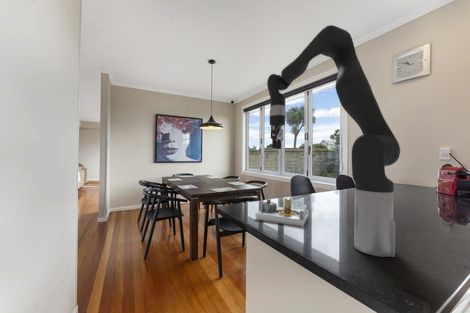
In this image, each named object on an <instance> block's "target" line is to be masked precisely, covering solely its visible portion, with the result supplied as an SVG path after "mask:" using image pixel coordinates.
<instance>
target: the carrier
mask: <svg viewBox="0 0 470 313" xmlns="http://www.w3.org/2000/svg"><path fill="white" fill-rule="evenodd" d="M271 200H272V199H271V198H267V199H266V201H263V202H260V210H259V211H257V212H256V213H255V220H256V221H257V220H258V221H264V222H270V223H276V224H277V223H278V224H282V225H290V226H295V227H296V226H297V227H302V228H303V227H304V226H305V224H306V223H307V220H308V218H309V210H308V205H307V204H303V206H301V208H300V209H298V208H291V212H295V213H296V214H297V215H296V216H286V215H280V214H278V212H281V211H284V206H283V207H282V206H278V204H277V203H276V202H272V201H271Z"/></svg>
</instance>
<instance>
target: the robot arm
mask: <svg viewBox="0 0 470 313" xmlns="http://www.w3.org/2000/svg"><path fill="white" fill-rule="evenodd" d="M320 55H322V56H326V57H328V58H330V59H332V60H333V62H334V64H335V66H336V70H337V77H336V79H335V80H336V81H335V92H336V95H337V97H338V98H337V99H338V100H339V103H340V105H341V107H342V108H343V110H344V111H345V112H346V113H347V115H348V116H349V117H351V119H352V120H353V121H354V123H356V125H357V126H358V127H359V129H360V130H361V133H362V134H361V135H360V136H358V137H357V138H356V139H355V140H354V142H353V144H352V146H351V174H352V176H351V177H352V179H353V182H354V229H353V230H354V232H353V233H354V234H353V244H354V245H353V246H354V248H355V249H356V250H357V251H360V252H362V253H363V254H367V255H371V256H374V257H382V258H383V257H384V258H385V257H392V258H395V257H396V256H395V255H396V253H395V252H396V221H395V220H394V190H395V184H394V182H393V180H391V179H390V178H388V177H387V175H386V170H385V168H386V167H389V166H392V165H393V164H395V163H396V162H397V161H398V160H399V158H400V155H401V147H400V144H399V142H398V139H397V138H396V136H395V135H394V133H393V131H392V129H391V127H390V126H389V124H388V123H387V121H386V119H385V117H384V116H383V113H382V111H381V108H380V106H379V104H378V102H377V99H376V96H375V95H374V92H373V90H372V86H371V84H370V82H369V80H368V78H367V76H366V74H365V72H364V69H363V67H362V65H361V63H360V60H359V58H358V55H357V52H356V49H355V44H354V40H353V38H352V36H351V33H349V31H347V30H345V29H343V28H341V27H339V26H335V25H332V24H331V25H329V24H328V25H327V26H324V27H323V28H322V29H321V30H320V31H319V32H318V33H317V34H316V35H315V36H314V37H313V38H312V39H311V41H310V42H309V43H308V44H307V45H306V46H305V48H304V49H303V50H302V51H301V52H300V53H299V55H297V57H296V58H294V59H293V61H291V62H290V63H289V64H287V65H286V66H285V67H284V68H283V69H282V71H281V72H280V73H281V74H278V73H272V74H270V75H269V76H268V78H267V81H266V82H267V83H266V84H267V85H266V86H267V89H268V95H269V99H270V104H269V105H270V108H269V126H270V139H271V147H272V149H277V150H281V149H282V143H283V140H284V137H283V134H284V131H283V128H282V127H284V126H286V97H285V95H284V93H281V91H282V92H283V91H285V90H288V88H289V87H290V85H291V84H292V83H293V81H296V79H298V78H300V77H301V76H302V75H303V74H304V73H305V72H306V71H307V69H308V67H309V64H310V62H311V61H312V60H313V59H314V58H316V57H319V56H320Z"/></svg>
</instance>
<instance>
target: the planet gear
mask: <svg viewBox="0 0 470 313" xmlns="http://www.w3.org/2000/svg"><path fill="white" fill-rule="evenodd" d="M283 200H284V203H283V204H284V206H283V208H284V211H281V212H278V214H280V215H286V216H296V215H297V214H296V213H295V212H291V209H292V199H291V198H289V197H285V198H284V199H283Z"/></svg>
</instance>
